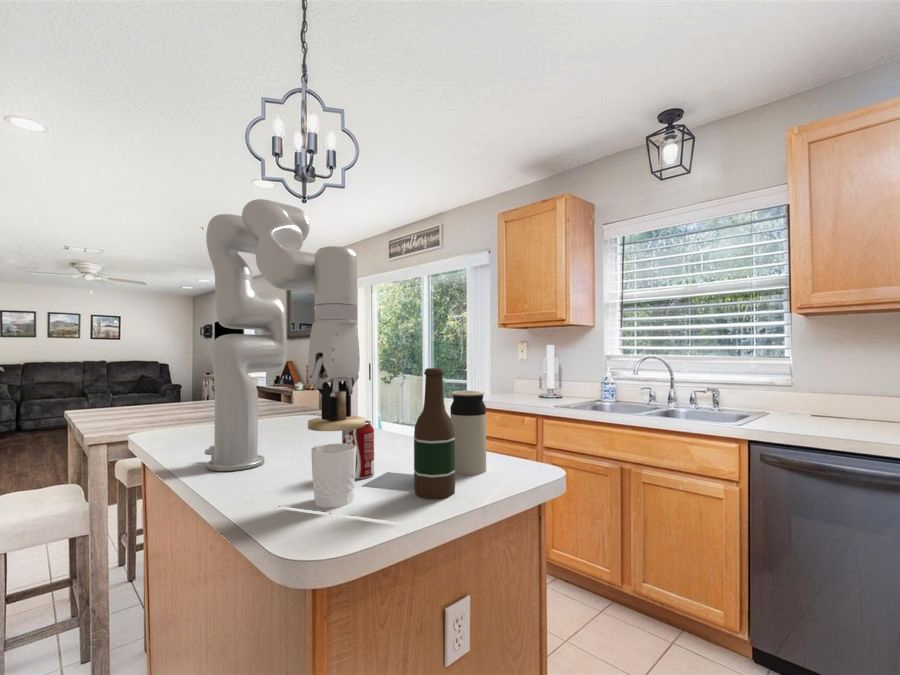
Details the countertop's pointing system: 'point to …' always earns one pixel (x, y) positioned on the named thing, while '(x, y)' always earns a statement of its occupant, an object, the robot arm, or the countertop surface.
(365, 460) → the soda can
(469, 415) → the travel mug
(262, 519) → the countertop surface
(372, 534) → the countertop surface
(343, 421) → the lid
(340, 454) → the white cup
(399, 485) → the mat
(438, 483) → the beer bottle
